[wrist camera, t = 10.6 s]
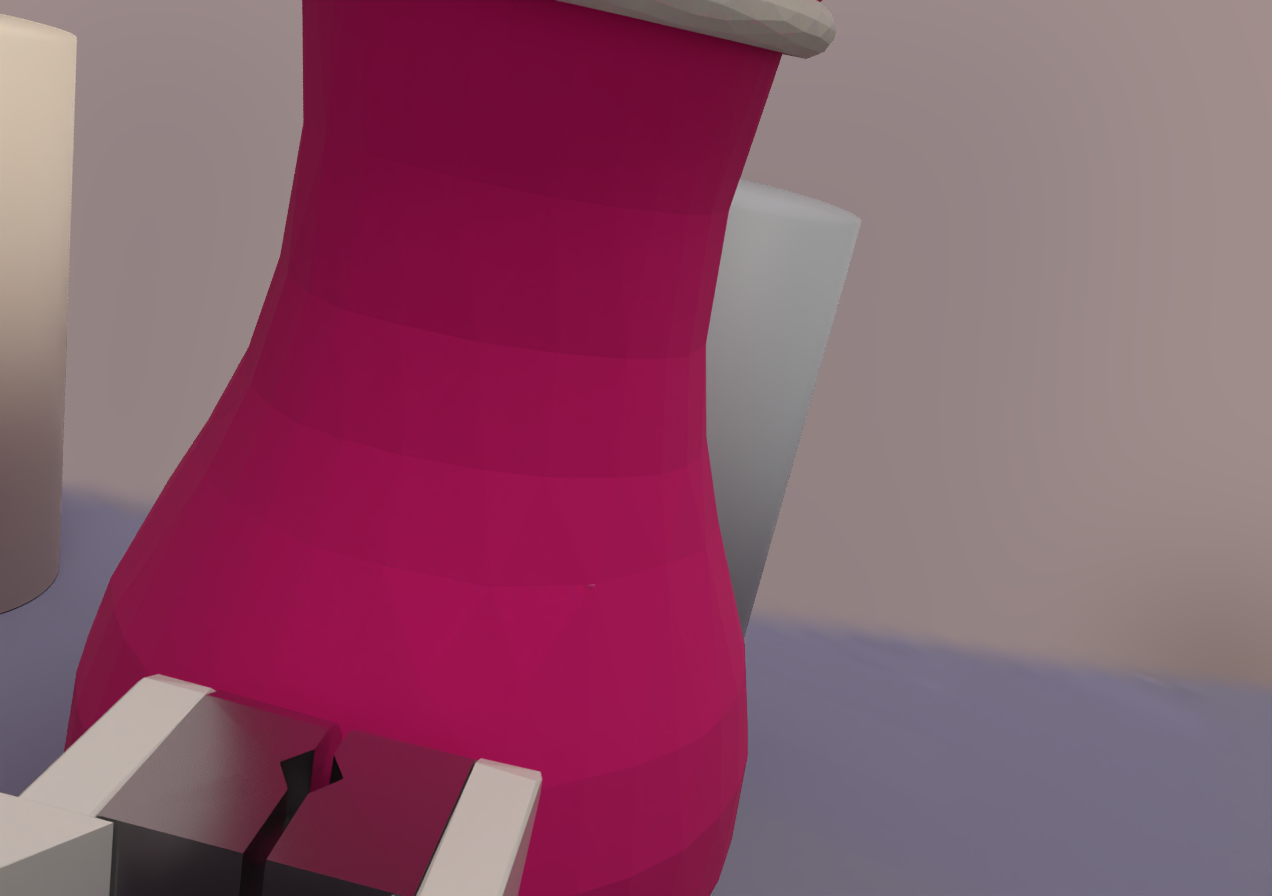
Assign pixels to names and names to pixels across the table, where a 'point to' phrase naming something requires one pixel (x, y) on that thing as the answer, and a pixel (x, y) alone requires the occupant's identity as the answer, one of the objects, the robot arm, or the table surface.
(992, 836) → the table surface
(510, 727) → the pepper mill
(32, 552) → the cream post
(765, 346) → the slate post
